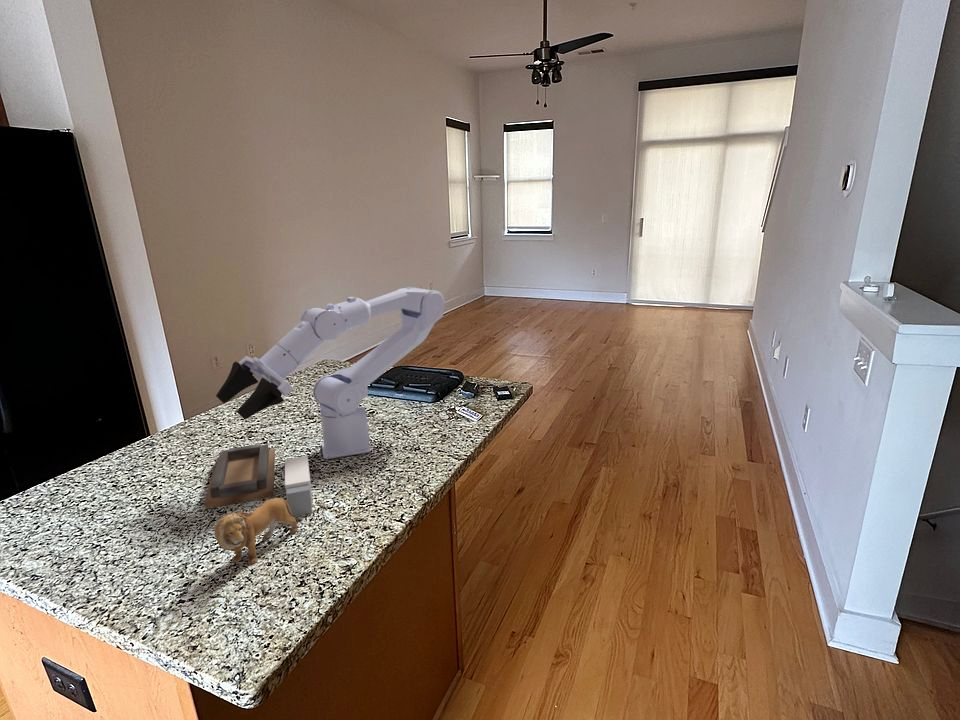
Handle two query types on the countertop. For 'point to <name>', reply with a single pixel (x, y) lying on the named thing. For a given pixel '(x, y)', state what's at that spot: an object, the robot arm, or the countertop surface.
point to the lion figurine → (252, 527)
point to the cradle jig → (241, 476)
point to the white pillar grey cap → (298, 486)
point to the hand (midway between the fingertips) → (230, 407)
